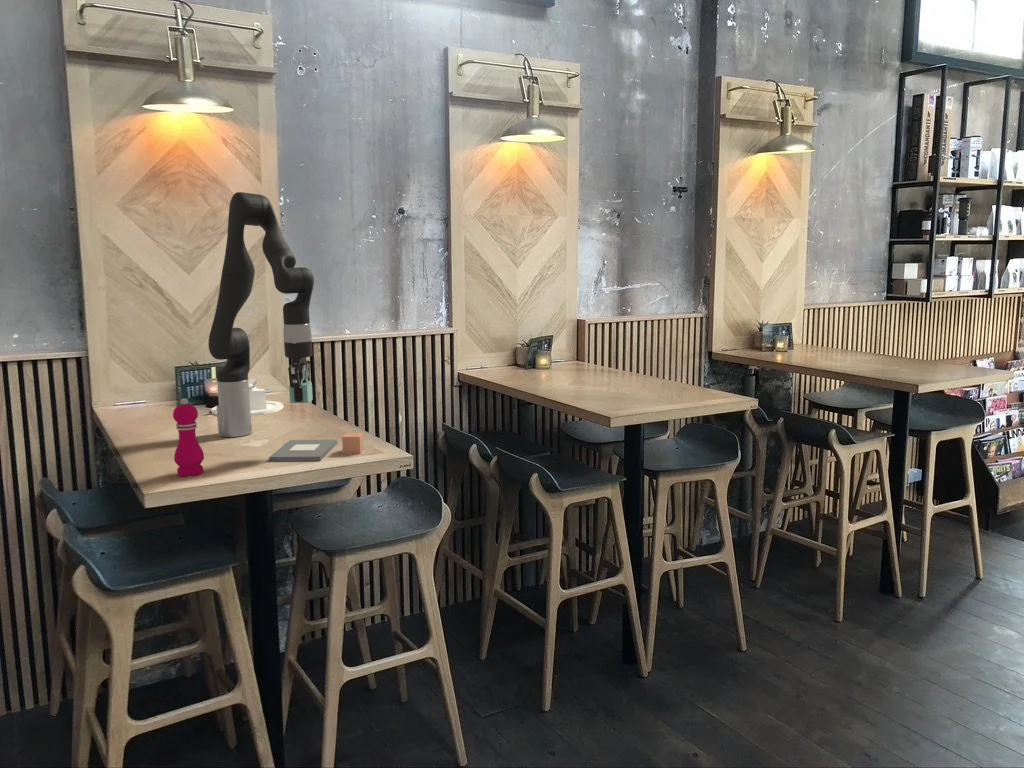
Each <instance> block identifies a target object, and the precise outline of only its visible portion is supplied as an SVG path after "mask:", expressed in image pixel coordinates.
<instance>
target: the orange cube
mask: <svg viewBox="0 0 1024 768" xmlns="http://www.w3.org/2000/svg"><path fill="white" fill-rule="evenodd" d="M364 439H365V437H364V432H345V433H344V435H343V436H342V437H341V443H342V454H343V455H360V454H362V453H363V452H364V450H365V441H364Z"/></svg>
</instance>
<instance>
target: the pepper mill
mask: <svg viewBox="0 0 1024 768" xmlns="http://www.w3.org/2000/svg"><path fill="white" fill-rule="evenodd" d="M180 403H181V404H179V405H178V406H176V407H175V408H174V409H173V413H172V416H173V419H174V421H175V422H176V424H175V427H176V428H175V429H176V430H177V432H178V443H177V447H176V449H175V452H174V464H176V465H177V466H178V467H177V469H176V470H177V471H176V472H177V476H178V477H180V476H182V477H181V478H189V477H188V476H192V477H198V476H200V475H202V474H203V473H204V467H203V465H202V462H203V461H204V459H205V456H204V455H205V453H204V451H203V449H202V447H201V445H200V443H199V442H198V439H197V436H196V434H197V433H196V429H197V428H198V426H197V422H196V420H197V418H198V417H199V412H198V409H197V407H195V406H194V404H189V399H188V398H184V397H183V398H182V399H181V400H180Z"/></svg>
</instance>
